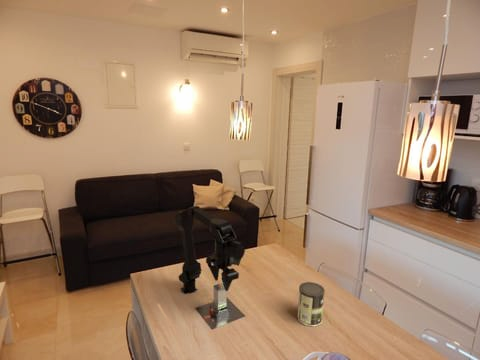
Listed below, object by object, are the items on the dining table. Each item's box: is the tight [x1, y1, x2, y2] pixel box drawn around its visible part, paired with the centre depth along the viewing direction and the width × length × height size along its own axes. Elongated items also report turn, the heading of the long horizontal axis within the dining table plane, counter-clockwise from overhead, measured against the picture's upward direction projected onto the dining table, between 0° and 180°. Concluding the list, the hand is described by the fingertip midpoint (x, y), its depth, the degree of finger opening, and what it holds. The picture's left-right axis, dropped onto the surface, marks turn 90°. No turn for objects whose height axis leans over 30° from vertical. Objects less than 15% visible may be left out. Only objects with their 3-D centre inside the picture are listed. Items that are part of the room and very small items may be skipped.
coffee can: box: [297, 281, 326, 328], centre depth 130 cm, size 10×10×14 cm
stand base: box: [194, 296, 246, 330], centre depth 133 cm, size 16×16×4 cm
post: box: [212, 282, 228, 309], centre depth 131 cm, size 4×4×9 cm
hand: (221, 285), depth 132 cm, fingers open, 9 cm apart
